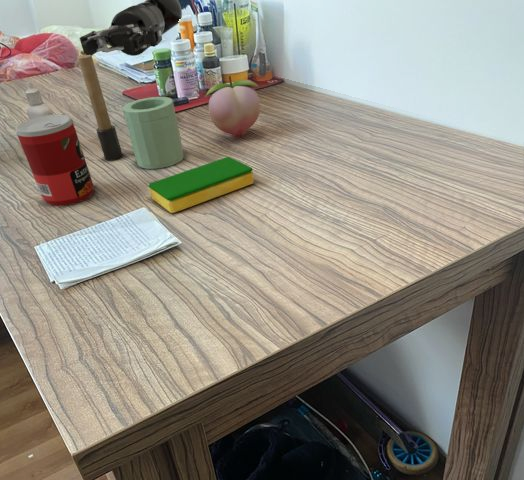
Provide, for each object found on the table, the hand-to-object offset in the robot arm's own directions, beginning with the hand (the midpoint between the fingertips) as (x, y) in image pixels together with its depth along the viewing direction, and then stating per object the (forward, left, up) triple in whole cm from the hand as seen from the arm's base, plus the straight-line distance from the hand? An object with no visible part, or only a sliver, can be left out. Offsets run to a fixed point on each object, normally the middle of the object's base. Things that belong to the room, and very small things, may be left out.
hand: (108, 47), depth 89 cm
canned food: (-21, -16, -15) cm, 31 cm away
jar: (-4, -16, -15) cm, 22 cm away
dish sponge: (-8, -33, -15) cm, 37 cm away
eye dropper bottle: (-13, +7, -15) cm, 21 cm away
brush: (-8, -7, -15) cm, 19 cm away
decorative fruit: (+11, -19, -15) cm, 27 cm away
